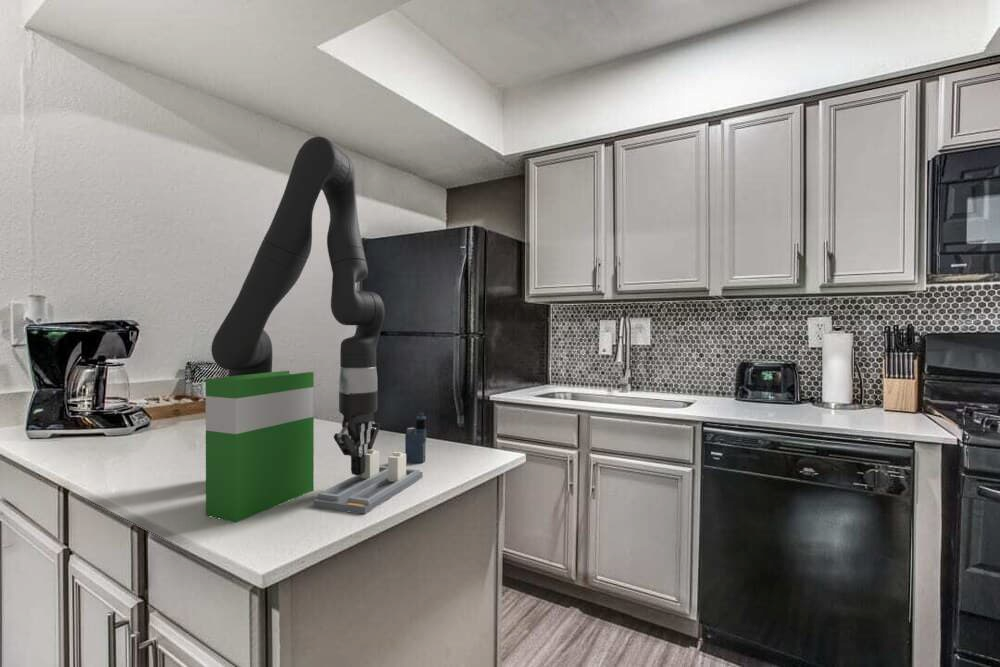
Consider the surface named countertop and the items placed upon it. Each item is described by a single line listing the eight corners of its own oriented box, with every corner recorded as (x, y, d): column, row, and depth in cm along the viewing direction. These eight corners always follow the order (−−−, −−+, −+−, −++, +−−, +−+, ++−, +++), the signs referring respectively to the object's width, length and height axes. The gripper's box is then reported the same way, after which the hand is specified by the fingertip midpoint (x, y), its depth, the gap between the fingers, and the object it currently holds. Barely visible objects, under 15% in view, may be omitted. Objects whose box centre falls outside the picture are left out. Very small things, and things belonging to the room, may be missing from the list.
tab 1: (360, 478, 101) (360, 451, 101) (370, 473, 105) (370, 447, 105) (369, 479, 101) (370, 452, 101) (379, 474, 104) (379, 448, 104)
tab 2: (388, 481, 99) (388, 454, 99) (396, 476, 103) (396, 449, 103) (397, 482, 99) (397, 455, 99) (406, 477, 102) (406, 450, 102)
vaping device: (424, 463, 118) (424, 414, 118) (403, 462, 119) (403, 413, 119) (427, 460, 120) (427, 412, 120) (407, 459, 121) (407, 411, 121)
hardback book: (286, 485, 101) (286, 370, 101) (313, 490, 98) (313, 372, 98) (205, 515, 85) (205, 378, 84) (235, 522, 82) (235, 380, 82)
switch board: (313, 506, 89) (313, 495, 89) (378, 472, 110) (378, 464, 110) (365, 514, 86) (365, 502, 86) (422, 477, 107) (422, 468, 107)
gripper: (361, 384, 106) (361, 463, 106) (321, 392, 93) (321, 481, 94) (391, 386, 104) (391, 467, 104) (354, 394, 91) (354, 486, 91)
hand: (358, 473), depth 99 cm, fingers closed
